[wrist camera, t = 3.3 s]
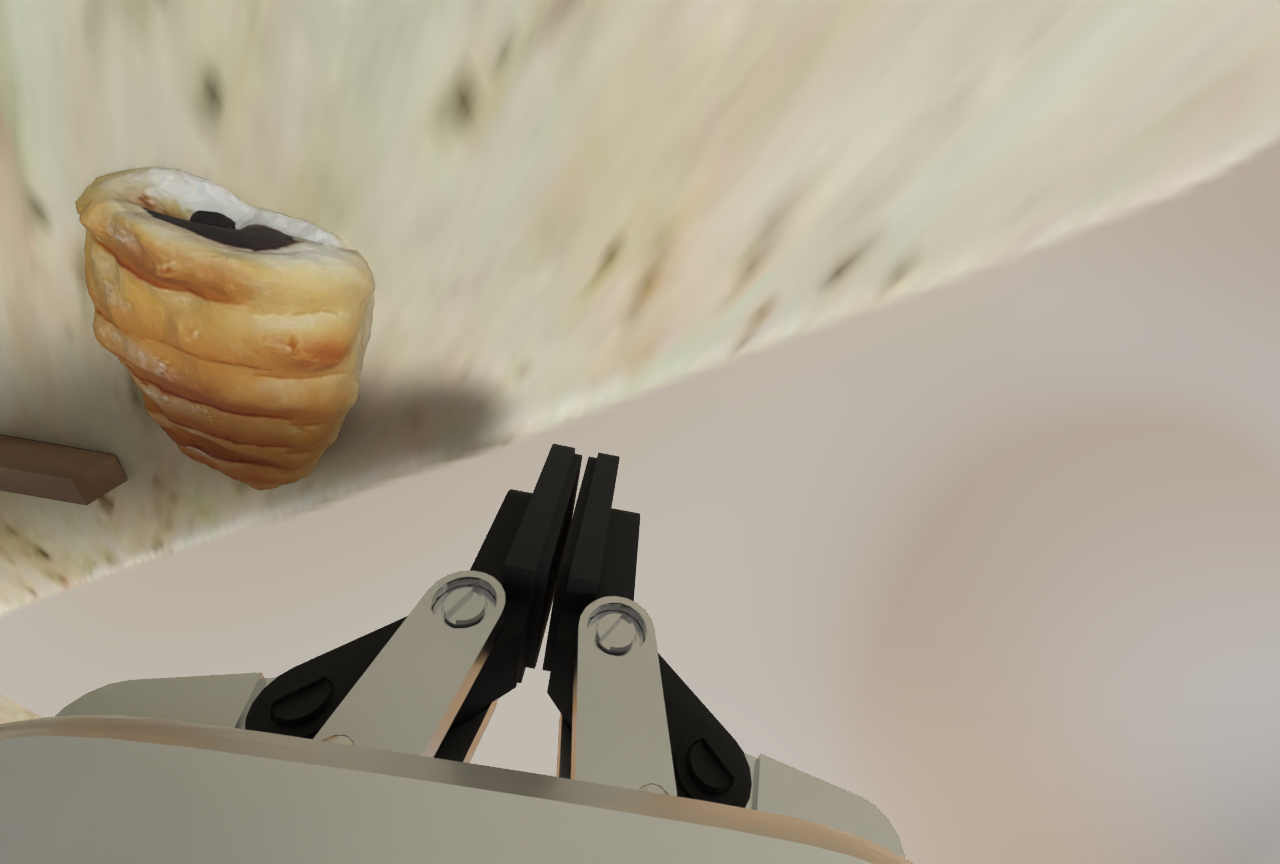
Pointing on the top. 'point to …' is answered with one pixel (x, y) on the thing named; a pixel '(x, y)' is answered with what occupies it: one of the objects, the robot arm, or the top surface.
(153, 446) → the top surface
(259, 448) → the pastry
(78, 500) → the bay
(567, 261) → the top surface
